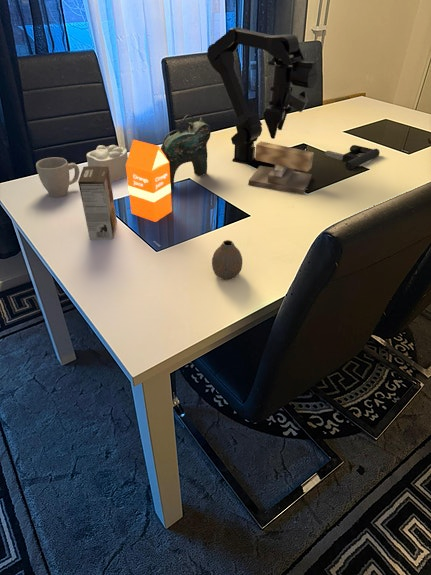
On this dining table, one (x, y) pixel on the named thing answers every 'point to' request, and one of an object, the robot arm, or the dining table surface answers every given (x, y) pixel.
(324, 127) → the dining table surface
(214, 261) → the vase
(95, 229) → the coffee box
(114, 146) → the lumpy-topped squat cylinder
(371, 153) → the door handle
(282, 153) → the oak beam
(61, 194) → the mug
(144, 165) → the orange juice
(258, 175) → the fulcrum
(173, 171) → the dark green animal statue
